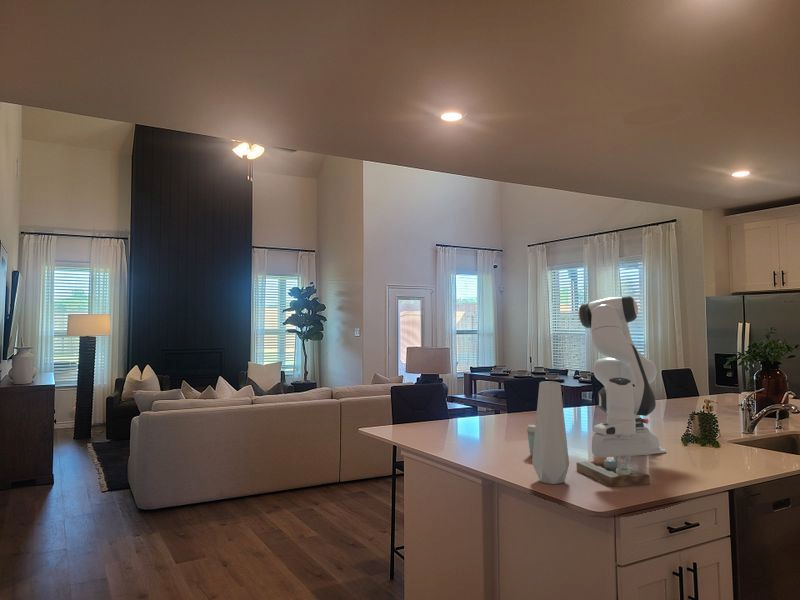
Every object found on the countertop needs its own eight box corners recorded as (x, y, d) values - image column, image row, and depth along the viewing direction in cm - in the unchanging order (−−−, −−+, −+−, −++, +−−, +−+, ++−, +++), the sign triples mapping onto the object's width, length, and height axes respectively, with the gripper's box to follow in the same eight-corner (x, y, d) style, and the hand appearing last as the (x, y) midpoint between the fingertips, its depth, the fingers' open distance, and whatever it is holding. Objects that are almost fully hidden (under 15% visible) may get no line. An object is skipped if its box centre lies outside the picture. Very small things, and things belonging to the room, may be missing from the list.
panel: (611, 468, 202) (611, 460, 202) (649, 484, 180) (649, 474, 180) (576, 470, 199) (576, 461, 199) (610, 486, 178) (610, 477, 178)
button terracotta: (602, 463, 199) (602, 454, 199) (609, 466, 195) (609, 457, 195) (591, 463, 198) (591, 455, 199) (597, 466, 194) (597, 458, 194)
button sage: (625, 476, 185) (625, 467, 186) (633, 480, 181) (632, 470, 181) (613, 477, 185) (613, 468, 185) (621, 480, 180) (620, 471, 180)
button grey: (613, 467, 192) (613, 459, 193) (620, 470, 188) (620, 461, 188) (601, 468, 192) (601, 459, 192) (609, 471, 187) (608, 462, 187)
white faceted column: (578, 485, 180) (575, 383, 182) (545, 487, 177) (543, 384, 180) (560, 475, 192) (557, 380, 194) (529, 477, 189) (527, 381, 191)
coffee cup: (549, 458, 219) (548, 427, 220) (527, 457, 221) (526, 427, 221) (548, 453, 227) (547, 424, 228) (526, 453, 229) (526, 423, 230)
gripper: (643, 424, 189) (644, 465, 188) (588, 426, 185) (589, 468, 184) (655, 427, 183) (656, 470, 182) (598, 430, 179) (600, 473, 178)
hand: (622, 469), depth 183 cm, fingers closed, pressing on button sage
